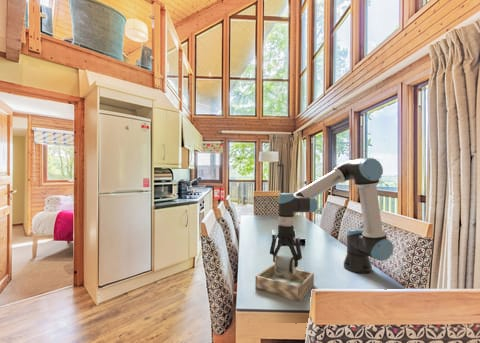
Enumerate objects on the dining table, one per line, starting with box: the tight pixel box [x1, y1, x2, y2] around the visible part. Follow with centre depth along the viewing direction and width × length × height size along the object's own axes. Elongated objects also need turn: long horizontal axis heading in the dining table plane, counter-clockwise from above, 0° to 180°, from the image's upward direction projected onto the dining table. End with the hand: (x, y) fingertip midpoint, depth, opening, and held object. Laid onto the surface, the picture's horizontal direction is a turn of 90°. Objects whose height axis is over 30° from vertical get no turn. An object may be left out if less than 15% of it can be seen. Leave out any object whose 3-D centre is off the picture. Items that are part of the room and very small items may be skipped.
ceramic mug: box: [274, 254, 294, 276], centre depth 121 cm, size 11×8×8 cm
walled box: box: [254, 263, 315, 303], centre depth 122 cm, size 22×20×6 cm
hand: (285, 271), depth 122 cm, fingers closed on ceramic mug, 8 cm apart
